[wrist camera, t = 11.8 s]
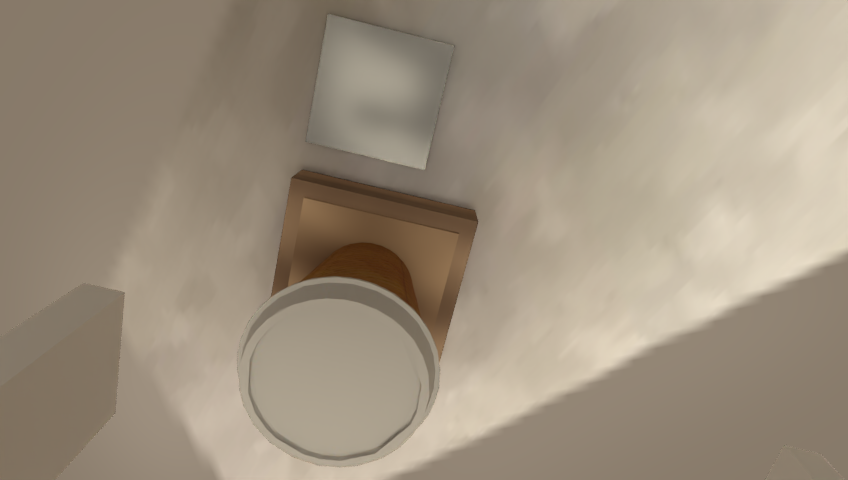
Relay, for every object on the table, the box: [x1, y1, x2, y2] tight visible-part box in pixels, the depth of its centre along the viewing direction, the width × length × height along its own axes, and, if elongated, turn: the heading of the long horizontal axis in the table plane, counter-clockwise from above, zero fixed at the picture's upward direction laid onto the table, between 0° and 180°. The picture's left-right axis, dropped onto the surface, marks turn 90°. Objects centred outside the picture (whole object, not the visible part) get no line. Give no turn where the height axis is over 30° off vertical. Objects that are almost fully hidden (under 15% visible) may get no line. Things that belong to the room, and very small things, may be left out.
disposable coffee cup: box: [237, 242, 440, 467], centre depth 31 cm, size 10×10×12 cm
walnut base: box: [271, 170, 478, 362], centre depth 38 cm, size 12×12×3 cm
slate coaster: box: [305, 14, 454, 170], centre depth 36 cm, size 8×8×1 cm
